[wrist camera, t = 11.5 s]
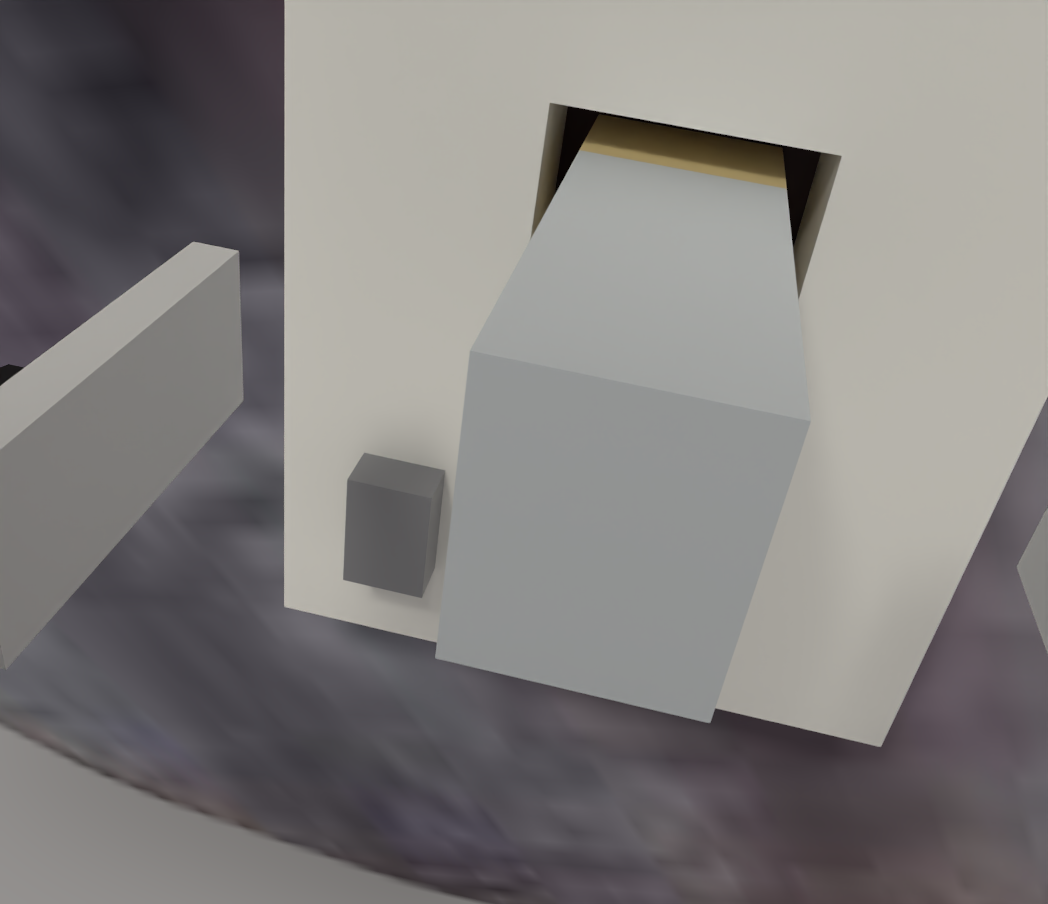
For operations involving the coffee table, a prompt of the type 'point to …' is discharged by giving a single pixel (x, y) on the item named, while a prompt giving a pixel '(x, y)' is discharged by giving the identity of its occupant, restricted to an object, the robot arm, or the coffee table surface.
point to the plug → (631, 424)
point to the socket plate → (821, 274)
